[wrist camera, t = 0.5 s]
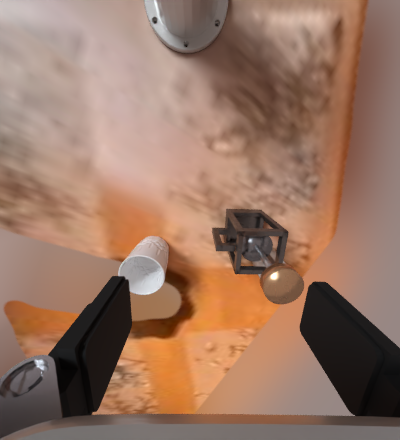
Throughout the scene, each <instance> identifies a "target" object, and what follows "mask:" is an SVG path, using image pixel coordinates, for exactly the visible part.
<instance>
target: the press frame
mask: <svg viewBox="0 0 400 440" xmlns="http://www.w3.org/2000/svg"><path fill="white" fill-rule="evenodd" d="M264 221H265V222H266V223H268V224H269V225H270V226H271V227H272V228H273V229H263V223H264ZM212 234H213V239H214V244H215V248H216V251H228V254H229V257H230V260H231V263H232V266H233V269H234V272H235V274H262V272H263V271H264V270H265V269H266V267H265V266H241V256H242V246H243V237H244V236H279V240H278V246H277V252H276V258H275V261H274V260H273V258H272V257H271V256H270V254H269V255H268V256H267V258H268V259H269V261H270V262H271V263H272V265H273V264H276V263H283V260H284V254H285V249H286V243H287V238H288V231H287V230H286V229H284V228H283V227H282V226H280V225H279V224H278V223H277V222H275V221H274V220H273V219H272V218H270V217H269V216H268V215H267V214H265V213H264V212H263V211H262V210H248V209H226V222H225V228H212ZM220 235H225V236H224V242H225V243H222V241H221V238H220ZM235 246H236V251H235ZM234 251H235V254H234Z"/></svg>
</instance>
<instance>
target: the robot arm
mask: <svg viewBox="0 0 400 440" xmlns="http://www.w3.org/2000/svg"><path fill="white" fill-rule="evenodd" d="M144 3H145V9H146V13H147V16H148V19H149V22H150V25H151V27H152V28H153V30H154V32H155V34H156V35H157V36H158V38H159V39H160V40H161V41H162V42H163V43H164V44H165V45H166V46H168V47H169V48H171V49H173V50H175V51H178V52H181V53H194V52H198V51H200V50H203V49H204V48H206V47H207V46H209V45H210V44H211V43H212V42H213V41H214V40H215V39H216V37H217V36H218V34H219V33H220V31H221V29H222V27H223V24H224V21H225V18H226V14H227V8H228V0H144ZM155 23H157V24H155ZM216 25H217V26H218V27H216ZM186 45H187V46H188V47H185V46H186ZM131 326H132V316H131V302H130V288H129V280H128V279H126V278H125V277H124V276H112V277H111V279H110V280H109V281H108V283H107V284H106V285H105V286H104V288H103V289H102V290H101V292H100V293H99V294H98V296H97V297H96V298H95V299H94V301H93V302H92V303H91V304H88V305H87V306H86V308H85V309H84V310H83V311H82V313H81V314H80V315H79V316H78V318H77V319H76V320H75V322H74V323H73V324H72V325H71V327H70V328H69V329H68V330H67V332H66V333H65V334H64V335H63V337H62V338H61V339H60V340H59V342H58V343H57V344H56V346H55V347H54V348H53V349H52V351H51V352H50V353H49V354H48V355H39V356H34V357H31V358H29V359H26V360H24V361H22V362H21V363H19V364H17V365H15V366H14V367H13V368H12V369H10V370H9V371H8V372H7V373H6V374H5V375H4V376H3V377H1V378H0V440H400V348H399V347H398V346H397V345H396V344H395V343H393V342H392V341H391V340H390V339H389V338H388V337H387V336H386V335H384V334H383V333H382V332H381V331H380V330H379V329H378V328H377V327H376V326H375V325H373V324H372V323H371V322H370V321H369V320H368V319H367V318H366V317H364V316H363V315H362V314H361V313H360V312H359V311H358V310H357V309H356V308H355V307H353V306H352V305H351V304H350V303H349V302H348V301H347V300H346V299H344V298H343V297H342V296H341V295H340V294H339V293H338V292H337V291H336V290H335V289H333V288H332V287H331V286H330V285H329V284H328V283H326V282H313V283H312V284H311V285H310V286H309V287H308V292H307V296H306V301H305V305H304V310H303V314H302V318H301V323H300V332H301V334H302V336H303V337H304V339H305V341H306V342H307V344H308V345H309V346H310V348H311V350H312V352H313V353H314V355H315V357H316V358H317V360H318V361H319V363H320V365H321V366H322V368H323V370H324V371H325V373H326V374H327V376H328V378H329V379H330V381H331V383H332V384H333V386H334V387H335V389H336V390H337V392H338V394H339V395H340V397H341V399H342V400H343V402H344V403H345V405H346V407H347V408H348V410H349V411H350V412H351V413H352V414H353V415H355V416H316V415H243V414H106V415H92V413H93V412H96V411H97V410H98V408H99V406H100V404H101V401H102V399H103V397H104V394H105V392H106V389H107V387H108V384H109V382H110V379H111V377H112V374H113V372H114V370H115V367H116V365H117V362H118V360H119V357H120V355H121V352H122V350H123V347H124V345H125V343H126V340H127V338H128V335H129V333H130V330H131Z"/></svg>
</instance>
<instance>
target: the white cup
mask: <svg viewBox="0 0 400 440" xmlns="http://www.w3.org/2000/svg"><path fill="white" fill-rule="evenodd" d="M168 256H169V246H168V244H167V243H166V241H165V240H163V239H162V238H160V237H157V236H149V237H146V238H144V239H143V240H142V241H141V242H140V243H139V244H138V245H137V246H136V247H135V248H134V249H133V250H132V252H131V253H130V254H129V255H128V257H127V258H126V259H125V260H124V261H123V263H122V264H121V265H120V268H119V272H118V275H119V276H124V277H125V278H126V279H128V280H129V288H130V292H132V293H135V294H139V295H148V294H152V293H154V292H156V291H157V290H159V289H160V288H161V286H162V285H163V283H164V280H165V274H166V269H167V264H168Z"/></svg>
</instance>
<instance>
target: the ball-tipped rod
mask: <svg viewBox="0 0 400 440" xmlns="http://www.w3.org/2000/svg"><path fill="white" fill-rule="evenodd" d="M272 247H273V244H272V240H271V238H270V237H269V236H244V237H243V246H242V255H243V256H244V258H246V259H247V260H249V261H261V260H262V262H263V263H264V265H265V267H266V269H265V270H264V271H263V272H262V274H261V276H260V286H261V288H262V290H263V292H264V294H265V296H266V297H267V299H268V300H269V301H271V302H273V303H276V304H287V303H290V302H292V301H294V300H296V299H297V298H298V297H299V296H300V295H301V293H302V291H303V289H304V281H303V279H302V277H301V276H300V275H299V274H298V273H297V272H296V270H295V269H294V268H293V267H292V266H290V265H288V264H285V263H276V264H273V265H272V263H271V262H270V261H269V259H268V258H267V256H268V255H269V254H270V253H271V251H272Z"/></svg>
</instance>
